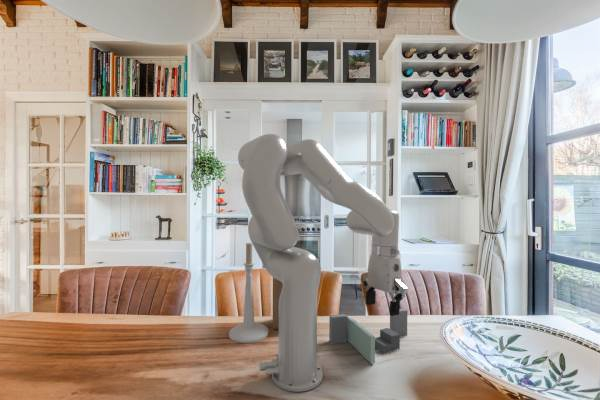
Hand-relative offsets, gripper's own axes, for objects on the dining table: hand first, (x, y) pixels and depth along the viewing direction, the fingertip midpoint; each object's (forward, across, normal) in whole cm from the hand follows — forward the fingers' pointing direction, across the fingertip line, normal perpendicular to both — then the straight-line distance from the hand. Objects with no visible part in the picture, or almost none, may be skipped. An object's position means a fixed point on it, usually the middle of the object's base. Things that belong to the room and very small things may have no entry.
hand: (381, 309), depth 89 cm
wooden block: (+13, +28, +16) cm, 35 cm away
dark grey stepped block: (+12, 0, -2) cm, 12 cm away
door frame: (+12, +7, -2) cm, 14 cm away
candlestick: (+13, +28, +31) cm, 44 cm away
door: (+12, +2, +6) cm, 13 cm away
